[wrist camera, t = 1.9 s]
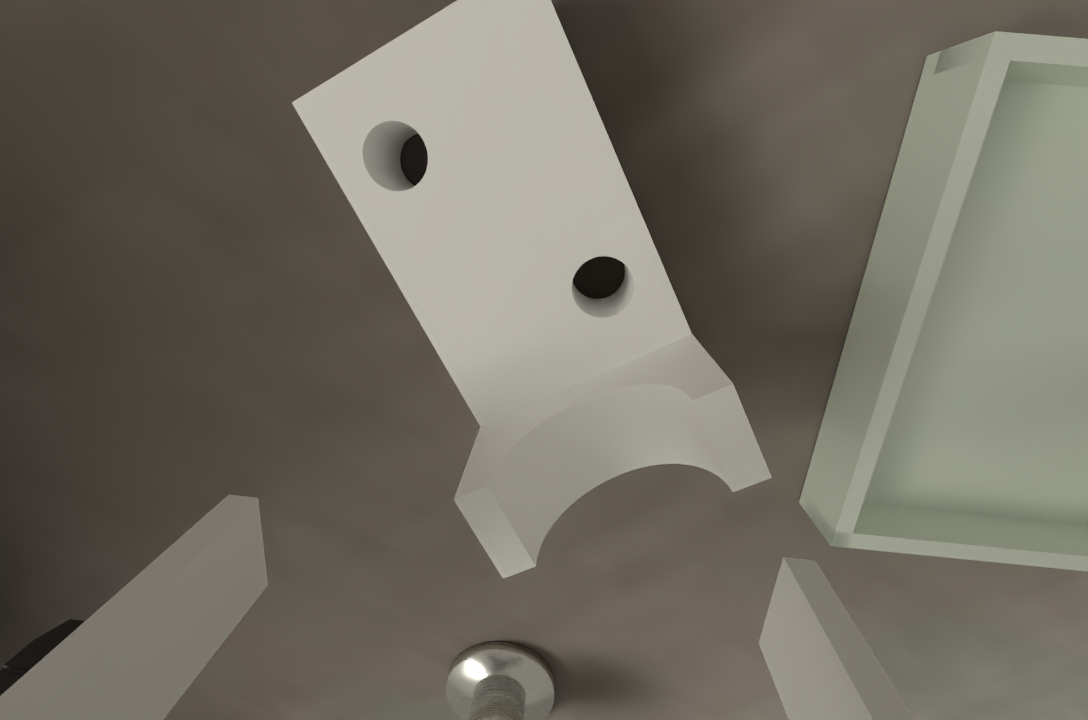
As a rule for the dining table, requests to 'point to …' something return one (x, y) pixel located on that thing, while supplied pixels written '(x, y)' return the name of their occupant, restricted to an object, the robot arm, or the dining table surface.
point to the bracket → (525, 267)
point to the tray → (972, 323)
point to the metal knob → (500, 683)
